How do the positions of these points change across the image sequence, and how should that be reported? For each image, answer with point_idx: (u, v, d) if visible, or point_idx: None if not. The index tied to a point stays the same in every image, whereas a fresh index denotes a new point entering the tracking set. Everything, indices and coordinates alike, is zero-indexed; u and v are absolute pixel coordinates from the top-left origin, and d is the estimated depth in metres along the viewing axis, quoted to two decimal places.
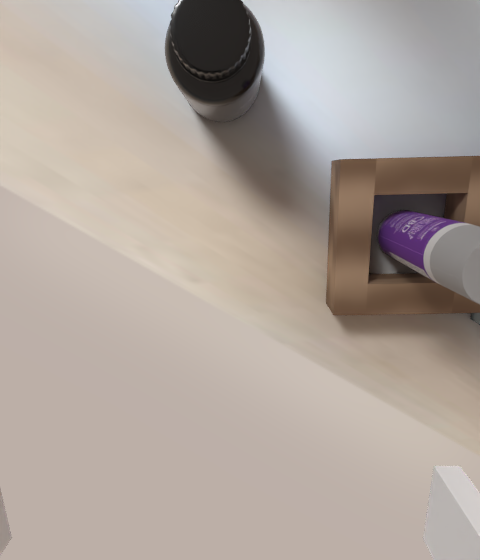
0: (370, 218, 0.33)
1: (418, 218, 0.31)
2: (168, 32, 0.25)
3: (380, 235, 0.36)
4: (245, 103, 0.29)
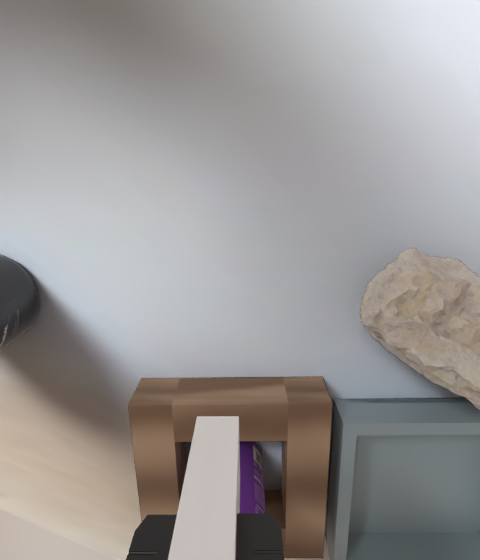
0: (173, 464, 0.27)
1: None
2: None
3: None
4: None
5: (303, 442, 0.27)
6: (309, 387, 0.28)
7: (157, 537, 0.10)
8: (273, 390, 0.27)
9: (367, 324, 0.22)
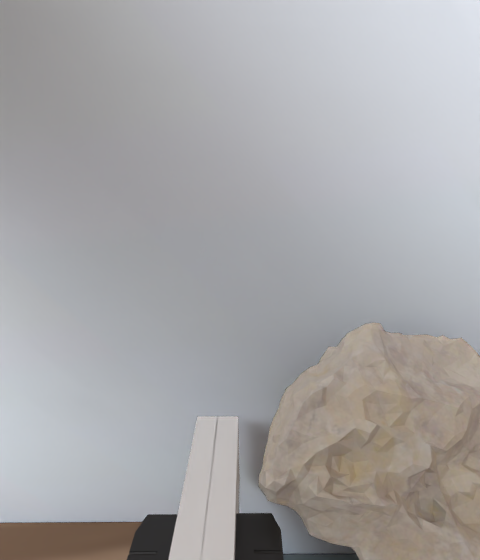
0: None
1: None
2: None
3: None
4: None
5: None
6: None
7: (157, 537, 0.10)
8: None
9: (267, 497, 0.10)
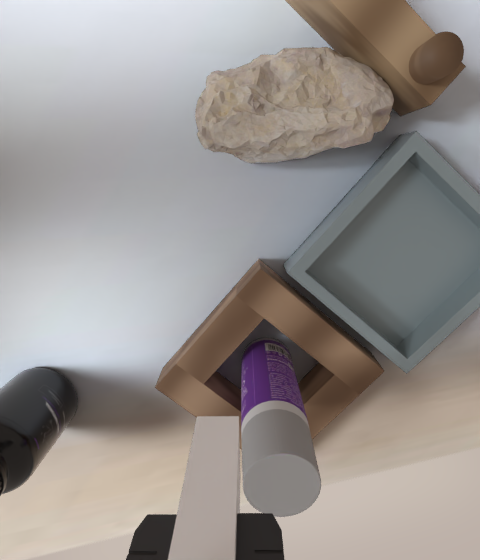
0: (220, 398, 0.33)
1: (242, 385, 0.30)
2: None
3: None
4: (55, 430, 0.32)
5: (274, 309, 0.31)
6: (250, 273, 0.32)
7: (157, 537, 0.10)
8: (229, 297, 0.32)
9: (206, 145, 0.26)
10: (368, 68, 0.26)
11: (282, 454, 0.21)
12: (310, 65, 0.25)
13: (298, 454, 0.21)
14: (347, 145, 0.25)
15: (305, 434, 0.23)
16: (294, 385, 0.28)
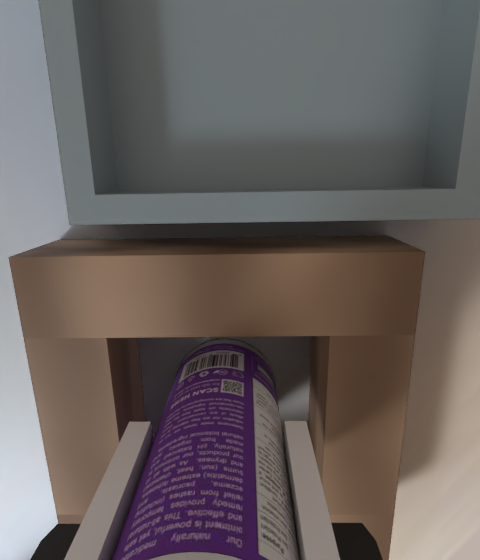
0: None
1: None
2: None
3: None
4: None
5: (107, 308, 0.13)
6: None
7: (62, 547, 0.09)
8: None
9: None
10: None
11: None
12: None
13: None
14: None
15: None
16: (218, 446, 0.10)
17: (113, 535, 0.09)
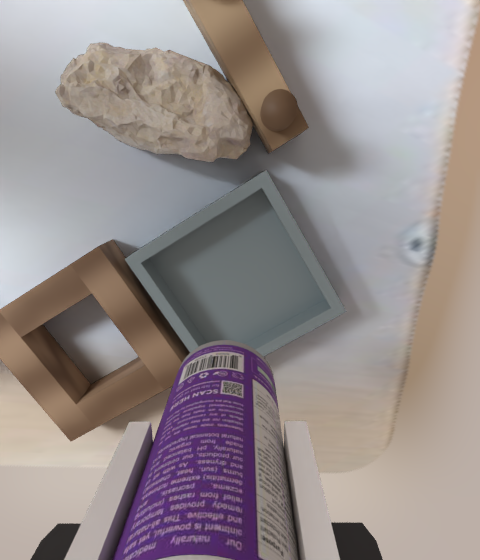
0: (33, 355, 0.34)
1: None
2: None
3: None
4: None
5: (103, 288, 0.32)
6: None
7: (62, 547, 0.09)
8: None
9: (63, 104, 0.27)
10: (237, 99, 0.28)
11: None
12: (184, 74, 0.27)
13: None
14: (188, 156, 0.27)
15: None
16: (217, 448, 0.10)
17: (113, 535, 0.09)
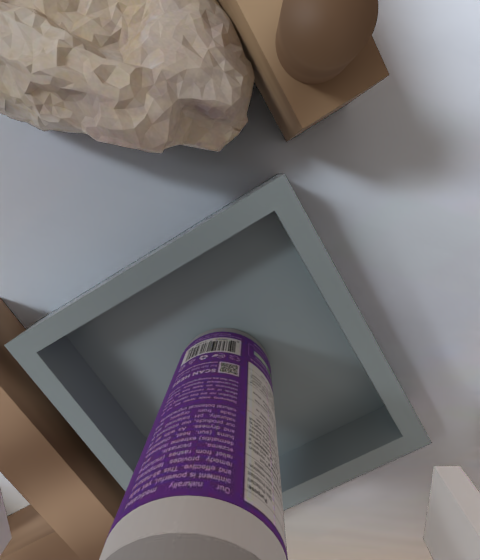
0: None
1: None
2: None
3: None
4: None
5: None
6: None
7: None
8: None
9: None
10: (222, 18, 0.13)
11: None
12: None
13: None
14: (102, 138, 0.12)
15: None
16: (213, 415, 0.12)
17: None
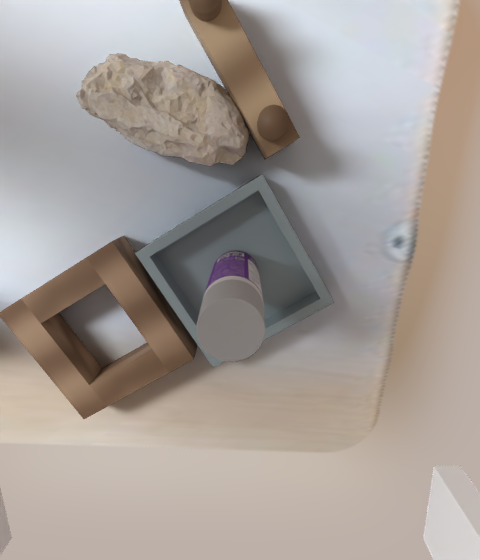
0: (51, 340, 0.38)
1: None
2: None
3: None
4: None
5: (115, 279, 0.36)
6: None
7: None
8: None
9: (82, 106, 0.30)
10: (236, 112, 0.32)
11: (207, 307, 0.24)
12: (191, 87, 0.31)
13: (219, 298, 0.24)
14: (190, 160, 0.31)
15: (234, 286, 0.26)
16: (236, 266, 0.31)
17: None
